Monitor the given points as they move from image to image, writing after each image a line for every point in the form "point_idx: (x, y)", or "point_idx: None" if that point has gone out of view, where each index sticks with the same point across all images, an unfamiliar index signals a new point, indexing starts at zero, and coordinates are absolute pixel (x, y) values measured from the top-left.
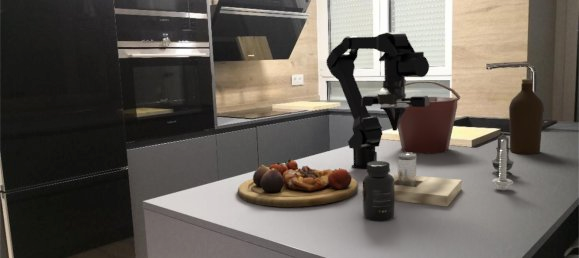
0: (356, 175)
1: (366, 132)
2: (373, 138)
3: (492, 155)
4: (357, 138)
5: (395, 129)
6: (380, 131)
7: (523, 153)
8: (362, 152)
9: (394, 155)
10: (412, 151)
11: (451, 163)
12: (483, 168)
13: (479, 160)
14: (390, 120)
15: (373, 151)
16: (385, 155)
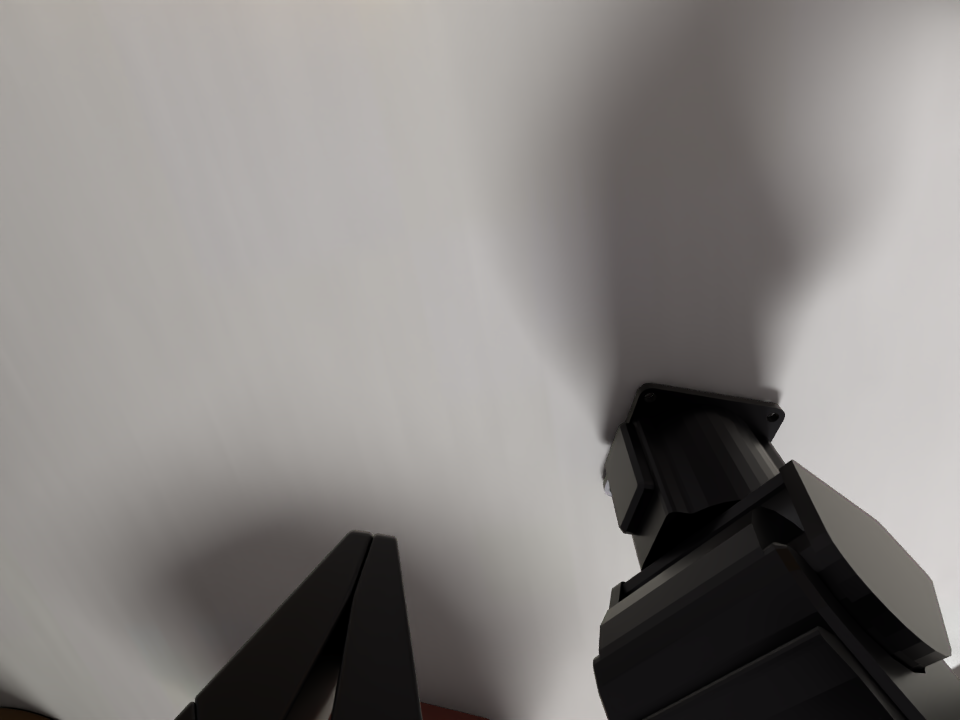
0: (744, 181)
1: (803, 604)
2: (678, 579)
3: (112, 688)
4: (871, 559)
5: (350, 540)
6: (617, 691)
7: (12, 710)
8: (741, 475)
9: (531, 667)
10: (454, 716)
11: (215, 561)
12: (27, 491)
13: (120, 618)
14: (395, 707)
15: (646, 516)
16: (578, 665)
